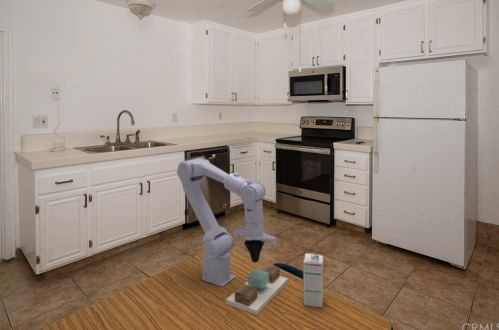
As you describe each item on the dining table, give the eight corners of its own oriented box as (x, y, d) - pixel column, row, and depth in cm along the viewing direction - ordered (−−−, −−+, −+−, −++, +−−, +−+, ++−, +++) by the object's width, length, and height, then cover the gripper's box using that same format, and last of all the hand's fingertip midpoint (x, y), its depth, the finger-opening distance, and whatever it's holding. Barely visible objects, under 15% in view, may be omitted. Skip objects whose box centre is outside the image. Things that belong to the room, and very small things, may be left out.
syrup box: (322, 308, 96) (323, 262, 94) (302, 305, 97) (303, 260, 95) (322, 297, 101) (324, 254, 99) (304, 295, 103) (304, 252, 100)
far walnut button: (259, 279, 110) (259, 270, 109) (266, 272, 114) (266, 264, 113) (272, 283, 107) (272, 274, 107) (279, 276, 111) (279, 267, 111)
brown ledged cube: (234, 301, 97) (234, 291, 97) (243, 293, 101) (243, 283, 101) (248, 306, 95) (248, 296, 94) (257, 297, 99) (257, 288, 98)
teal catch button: (248, 284, 103) (247, 275, 103) (256, 277, 107) (255, 268, 107) (261, 288, 101) (261, 279, 100) (269, 281, 105) (269, 272, 104)
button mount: (226, 303, 99) (225, 293, 98) (260, 274, 116) (260, 265, 116) (256, 315, 93) (256, 304, 92) (287, 282, 110) (288, 273, 110)
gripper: (228, 221, 102) (230, 261, 105) (267, 228, 95) (269, 271, 97) (240, 215, 108) (242, 253, 110) (278, 221, 101) (279, 261, 103)
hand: (255, 261), depth 104 cm, fingers closed
